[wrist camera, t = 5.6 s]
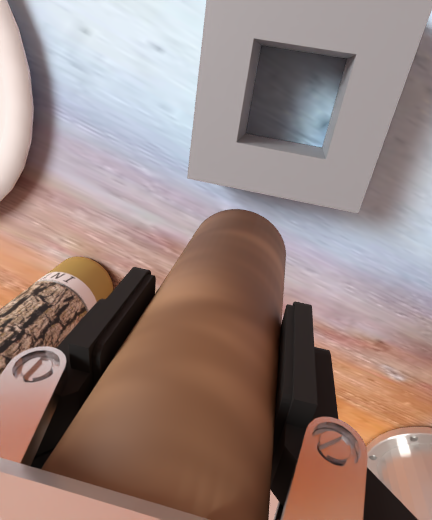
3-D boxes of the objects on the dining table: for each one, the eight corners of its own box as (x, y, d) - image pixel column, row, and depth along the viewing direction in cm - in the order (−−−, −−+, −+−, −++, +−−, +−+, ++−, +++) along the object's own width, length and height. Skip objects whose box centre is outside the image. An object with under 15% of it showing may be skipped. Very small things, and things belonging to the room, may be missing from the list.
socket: (411, 10, 24) (436, -5, 20) (349, 194, 30) (358, 213, 26) (225, -15, 26) (210, -35, 21) (202, 164, 32) (187, 178, 27)
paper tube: (127, 293, 40) (-80, 548, 18) (86, 313, 43) (-137, 557, 21) (89, 243, 38) (-193, 463, 16) (49, 268, 41) (-239, 485, 19)
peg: (295, 219, 15) (285, 795, 3) (275, 302, 17) (221, 839, 5) (196, 200, 16) (-150, 629, 4) (188, 284, 18) (-47, 730, 6)
